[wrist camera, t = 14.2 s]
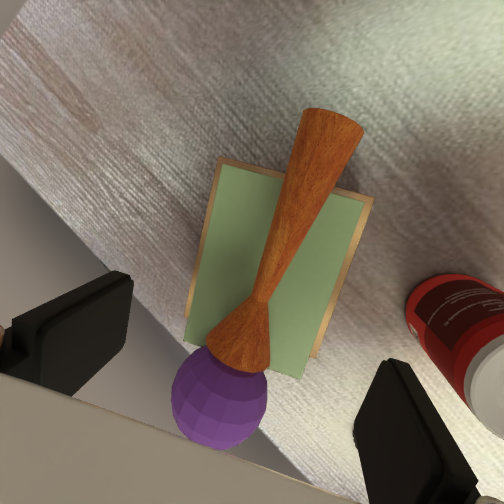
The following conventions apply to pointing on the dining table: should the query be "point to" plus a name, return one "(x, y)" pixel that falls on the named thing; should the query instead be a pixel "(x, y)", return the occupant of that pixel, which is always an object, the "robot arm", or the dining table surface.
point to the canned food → (464, 340)
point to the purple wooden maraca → (261, 295)
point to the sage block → (249, 257)
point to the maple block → (346, 262)
